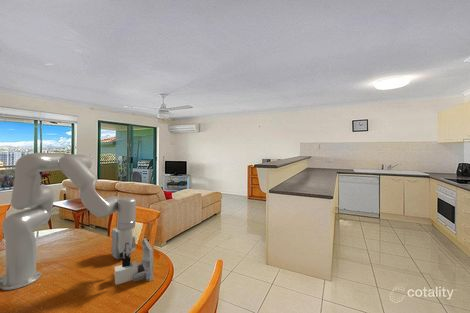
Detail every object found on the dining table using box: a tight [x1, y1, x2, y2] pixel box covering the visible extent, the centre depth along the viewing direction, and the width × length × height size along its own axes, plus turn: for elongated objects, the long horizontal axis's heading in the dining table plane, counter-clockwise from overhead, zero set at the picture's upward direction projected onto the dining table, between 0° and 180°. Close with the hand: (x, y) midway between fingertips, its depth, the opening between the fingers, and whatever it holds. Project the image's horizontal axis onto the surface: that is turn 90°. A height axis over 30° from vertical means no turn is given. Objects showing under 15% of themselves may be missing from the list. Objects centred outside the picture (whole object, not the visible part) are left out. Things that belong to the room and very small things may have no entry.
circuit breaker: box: [110, 227, 136, 260], centre depth 116 cm, size 8×14×15 cm, turn 53°
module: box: [114, 260, 139, 286], centre depth 95 cm, size 9×5×6 cm, turn 124°
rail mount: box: [132, 237, 154, 283], centre depth 99 cm, size 8×16×14 cm, turn 35°
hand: (124, 261), depth 95 cm, fingers open, 9 cm apart
